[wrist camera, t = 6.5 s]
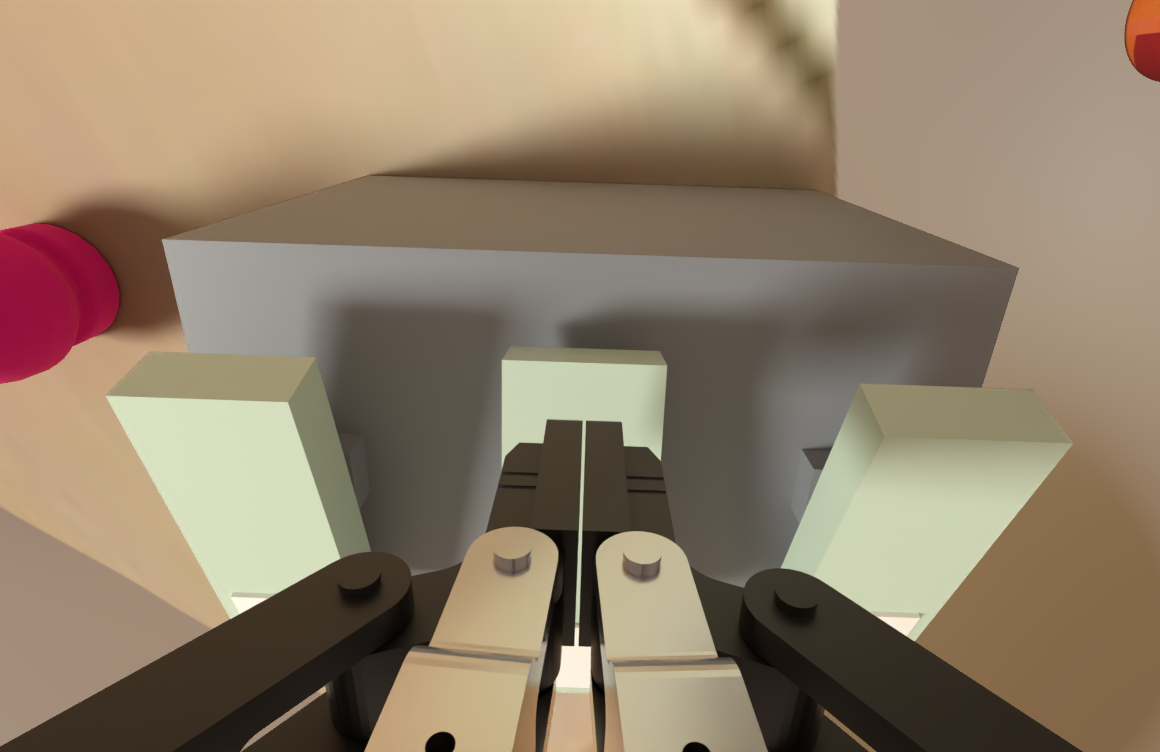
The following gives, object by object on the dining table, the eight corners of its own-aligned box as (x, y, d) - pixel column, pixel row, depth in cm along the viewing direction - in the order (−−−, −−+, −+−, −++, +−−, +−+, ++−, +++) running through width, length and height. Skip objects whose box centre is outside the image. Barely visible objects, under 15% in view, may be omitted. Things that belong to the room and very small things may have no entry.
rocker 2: (510, 345, 16) (500, 361, 14) (659, 350, 16) (668, 367, 14) (509, 649, 18) (500, 694, 16) (640, 654, 18) (645, 699, 16)
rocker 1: (149, 351, 14) (100, 400, 13) (315, 357, 14) (284, 406, 13) (261, 586, 20) (235, 638, 18) (382, 590, 20) (365, 643, 18)
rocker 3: (860, 383, 14) (886, 441, 13) (1033, 389, 14) (1077, 448, 12) (769, 594, 20) (781, 649, 18) (889, 598, 20) (910, 653, 18)
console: (367, 175, 31) (133, 248, 15) (815, 189, 31) (1047, 278, 15) (392, 415, 36) (236, 654, 20) (774, 428, 36) (913, 679, 20)
